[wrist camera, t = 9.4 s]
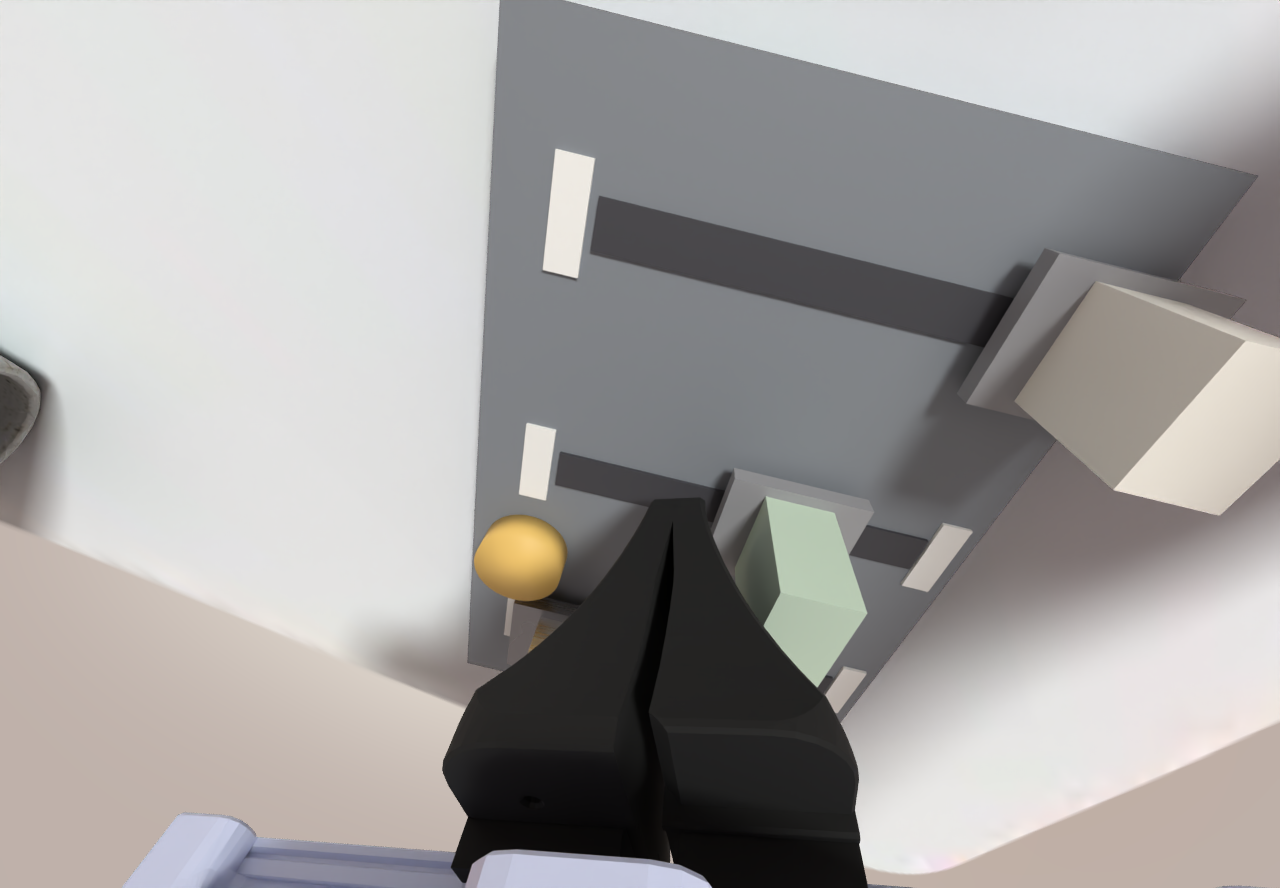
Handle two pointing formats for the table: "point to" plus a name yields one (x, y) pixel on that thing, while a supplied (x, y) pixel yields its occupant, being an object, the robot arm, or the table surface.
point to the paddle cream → (1137, 380)
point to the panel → (768, 301)
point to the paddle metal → (535, 624)
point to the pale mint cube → (794, 563)
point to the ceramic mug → (16, 406)
